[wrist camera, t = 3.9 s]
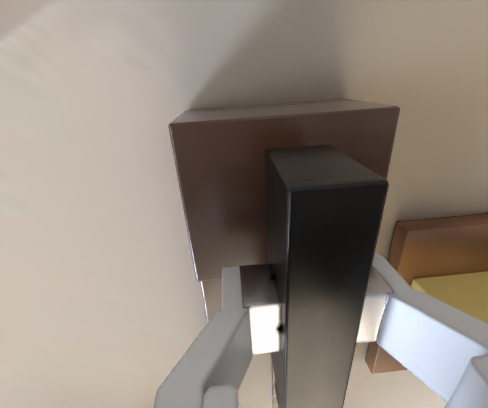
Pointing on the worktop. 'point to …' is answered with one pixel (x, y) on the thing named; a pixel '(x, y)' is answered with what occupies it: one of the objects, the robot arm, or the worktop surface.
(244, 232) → the knife stand
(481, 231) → the board
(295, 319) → the knife
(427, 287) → the butter
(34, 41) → the worktop surface
